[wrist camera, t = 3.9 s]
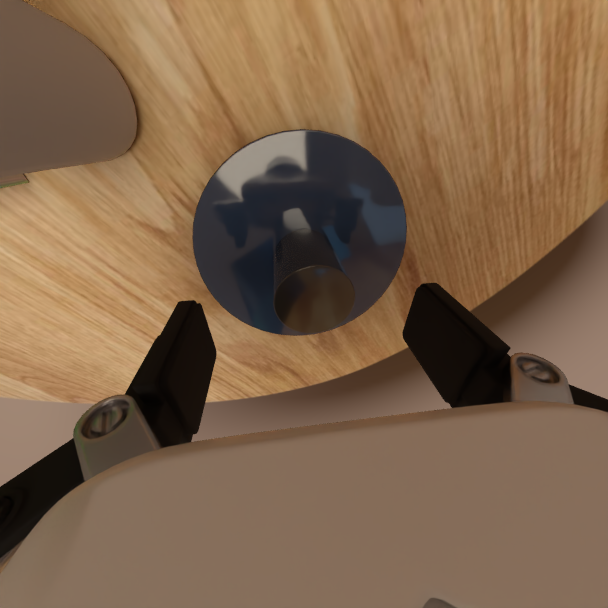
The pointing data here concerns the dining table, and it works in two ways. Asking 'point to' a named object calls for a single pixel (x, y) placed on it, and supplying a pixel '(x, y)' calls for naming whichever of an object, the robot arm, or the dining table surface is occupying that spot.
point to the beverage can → (57, 96)
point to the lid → (299, 232)
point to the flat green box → (12, 180)
